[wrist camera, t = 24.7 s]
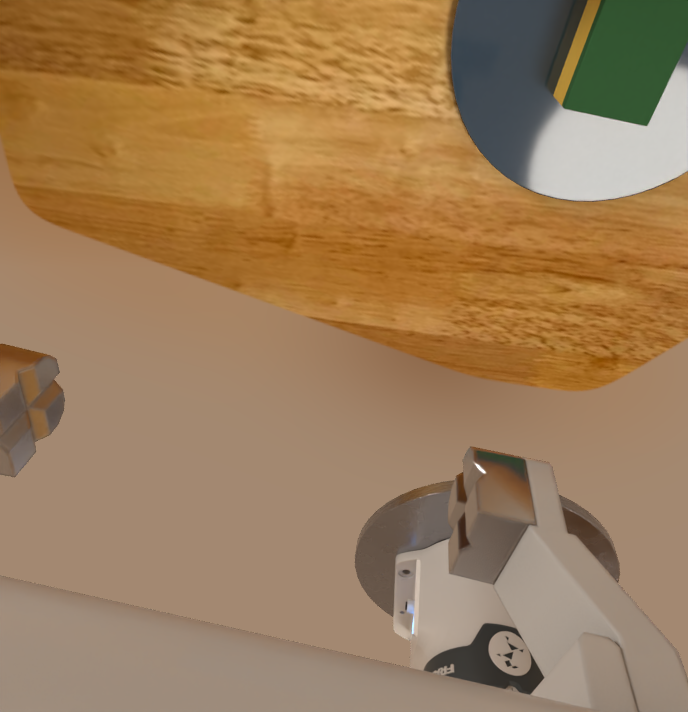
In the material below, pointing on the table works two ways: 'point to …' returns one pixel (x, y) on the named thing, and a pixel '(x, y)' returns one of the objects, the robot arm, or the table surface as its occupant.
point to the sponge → (623, 58)
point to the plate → (555, 106)
